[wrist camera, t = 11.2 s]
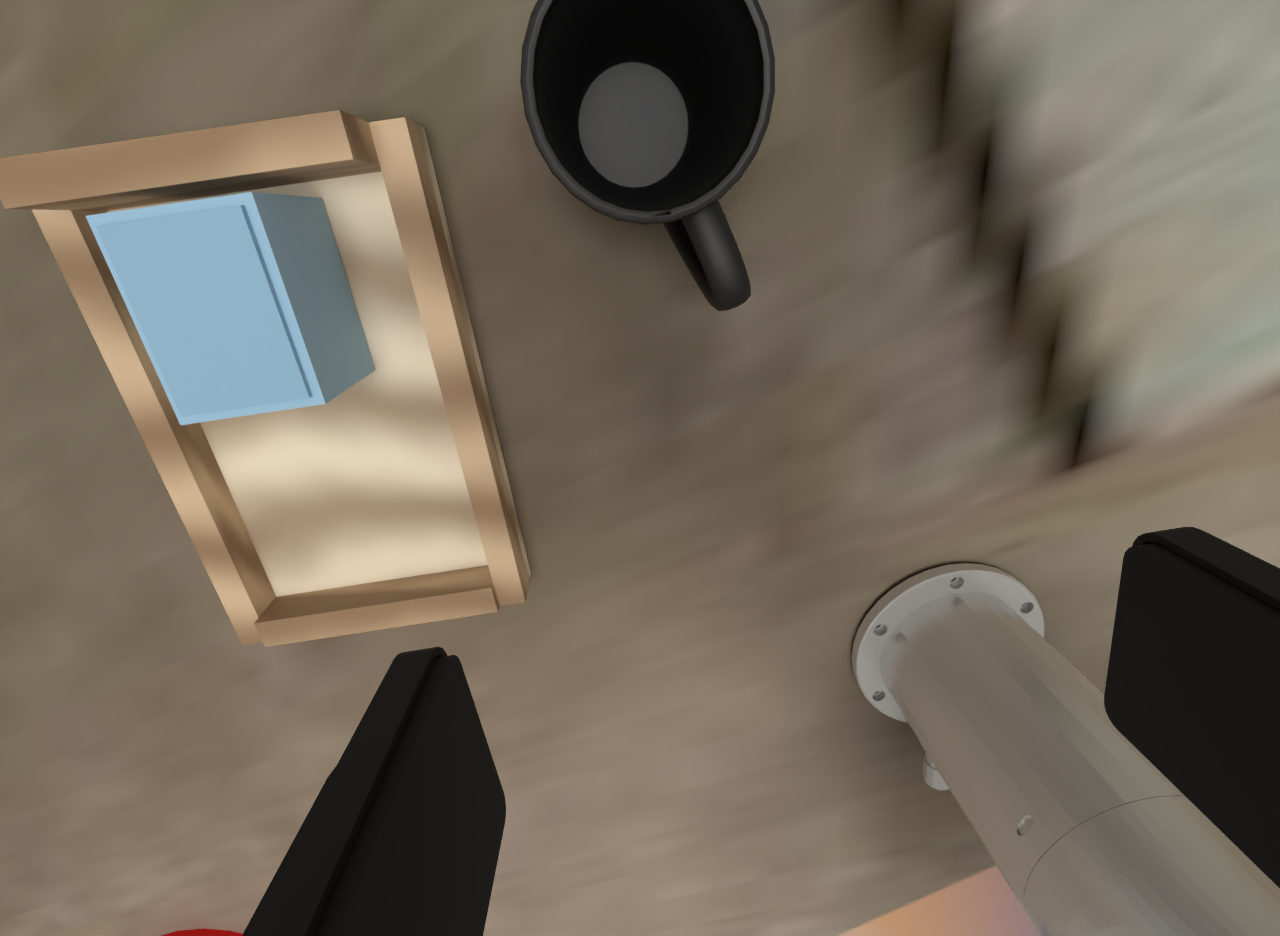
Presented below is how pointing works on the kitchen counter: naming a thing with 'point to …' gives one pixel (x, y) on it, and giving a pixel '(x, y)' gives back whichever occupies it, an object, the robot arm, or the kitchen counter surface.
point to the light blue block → (238, 302)
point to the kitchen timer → (203, 933)
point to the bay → (322, 434)
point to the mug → (654, 115)
